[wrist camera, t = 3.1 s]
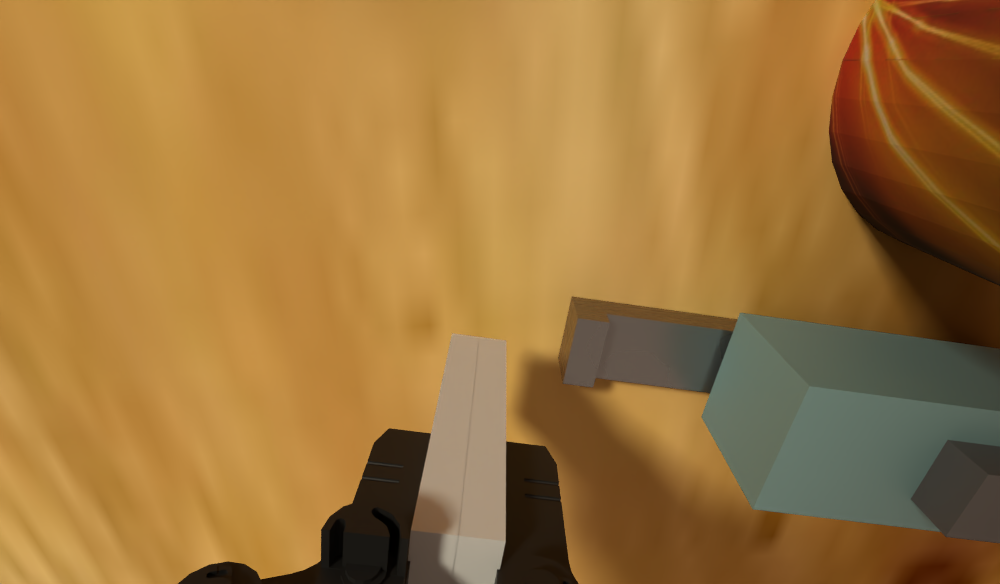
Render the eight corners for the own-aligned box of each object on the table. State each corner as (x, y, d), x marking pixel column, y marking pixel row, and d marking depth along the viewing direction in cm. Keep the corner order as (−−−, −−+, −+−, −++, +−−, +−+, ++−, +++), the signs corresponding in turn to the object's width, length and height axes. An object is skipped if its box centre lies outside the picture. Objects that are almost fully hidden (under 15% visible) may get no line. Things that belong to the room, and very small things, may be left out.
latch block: (740, 312, 16) (838, 417, 11) (1043, 354, 16) (1261, 472, 12) (701, 416, 18) (773, 547, 13) (978, 452, 18) (1147, 590, 13)
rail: (571, 296, 17) (577, 318, 16) (1284, 395, 18) (1351, 423, 17) (558, 358, 18) (562, 383, 17) (1236, 447, 19) (1295, 478, 18)
